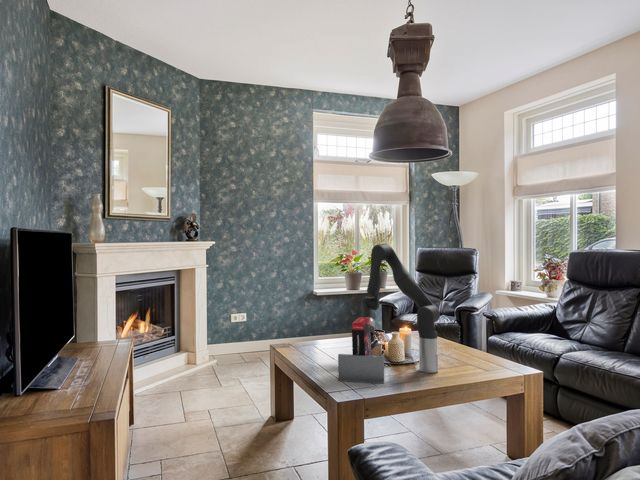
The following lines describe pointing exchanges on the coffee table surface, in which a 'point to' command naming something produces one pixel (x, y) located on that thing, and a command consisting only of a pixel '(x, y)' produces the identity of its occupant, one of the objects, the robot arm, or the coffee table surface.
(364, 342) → the graphics card box
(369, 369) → the bracket
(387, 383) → the coffee table surface
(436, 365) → the robot arm
